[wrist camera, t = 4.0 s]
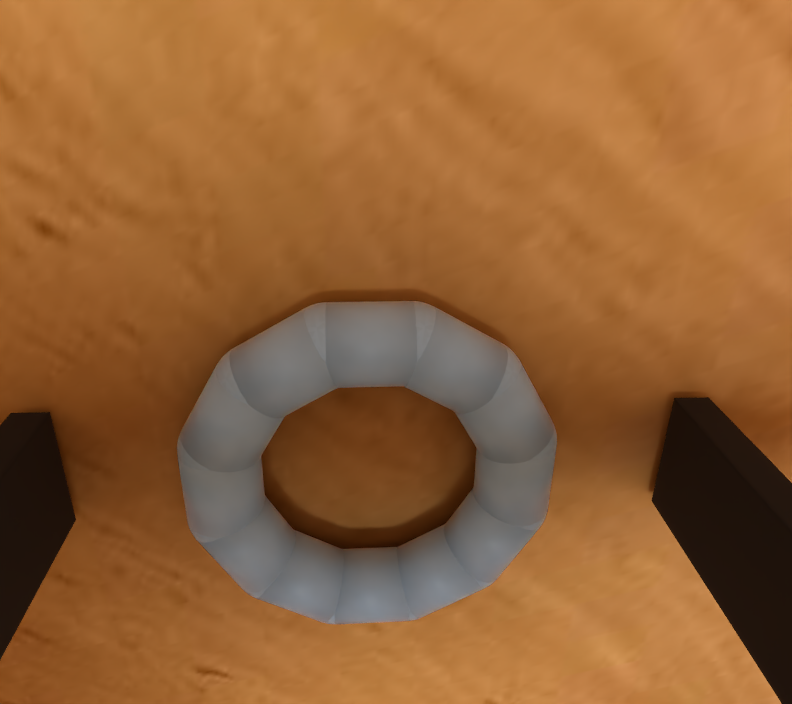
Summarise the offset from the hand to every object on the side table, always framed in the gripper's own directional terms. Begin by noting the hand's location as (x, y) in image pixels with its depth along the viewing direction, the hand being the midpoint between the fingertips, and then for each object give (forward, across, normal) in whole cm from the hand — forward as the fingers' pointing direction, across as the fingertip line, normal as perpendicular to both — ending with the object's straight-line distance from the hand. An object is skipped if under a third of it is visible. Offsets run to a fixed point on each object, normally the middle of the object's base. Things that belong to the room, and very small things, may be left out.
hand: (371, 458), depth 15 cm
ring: (-1, 0, 0) cm, 1 cm away
